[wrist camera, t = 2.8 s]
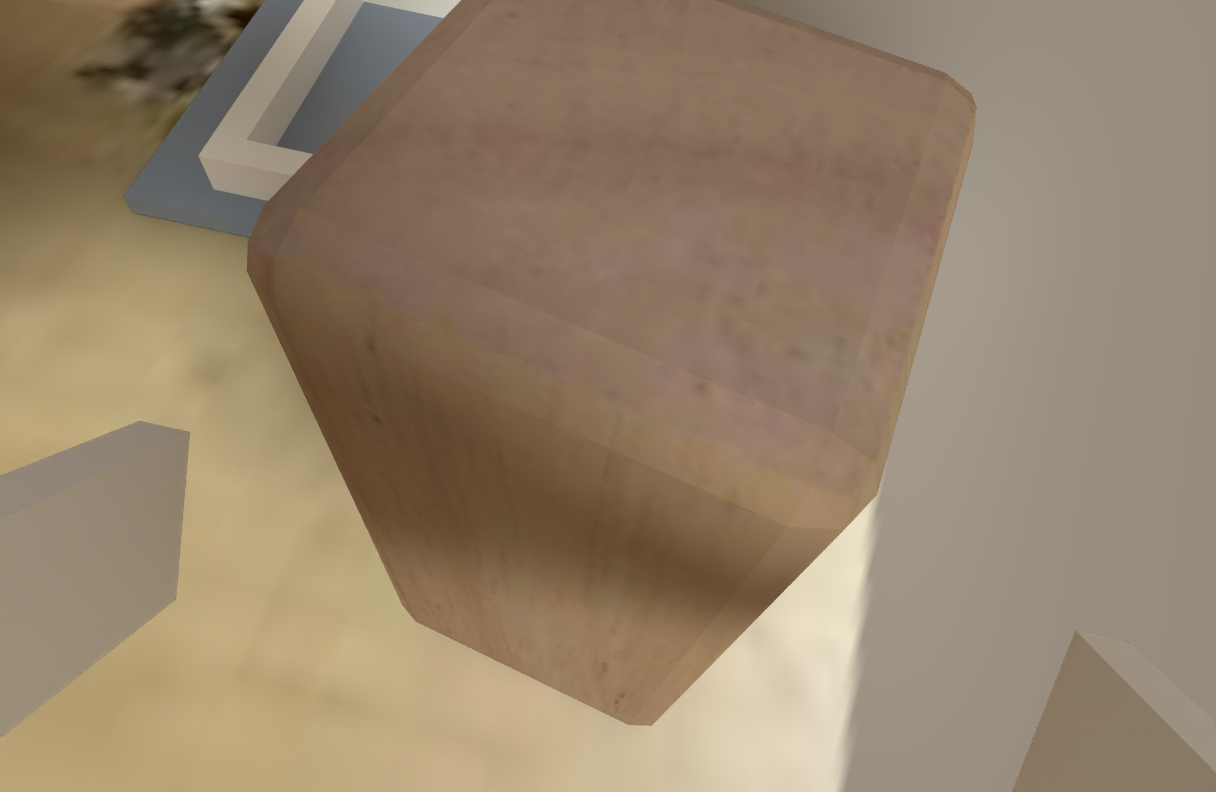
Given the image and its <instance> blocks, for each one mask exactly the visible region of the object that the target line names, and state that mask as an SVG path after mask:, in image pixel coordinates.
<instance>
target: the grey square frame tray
mask: <svg viewBox="0 0 1216 792" xmlns="http://www.w3.org/2000/svg"><path fill="white" fill-rule="evenodd" d="M460 1H461V0H265V1H264V3H263V4H262V5H261V7H260V8H259V10H258V11H257V12H256V14H255V15H254V16H253V18H252V19H251V21H250V22H249V23H248V25H247V26H246V28H245V29H244V30H243V32H242V33H241V34H240V36H239V37H238V39H237V40H236V41H235V43H234V44H233V45H232V47H231V48H230V50H229V51H228V52H227V54H226V55H225V57H224V58H223V59H222V61H221V62H220V63H219V65H218V66H217V68H216V69H215V70H214V72H213V73H212V74H211V76H210V77H209V79H208V80H207V81H206V83H205V84H204V86H203V87H202V88H201V90H200V91H199V92H198V94H197V95H196V97H195V98H194V99H193V101H192V102H191V103H190V105H189V106H188V108H187V109H186V110H185V112H184V113H183V115H182V116H181V117H180V119H179V120H178V121H177V123H176V124H175V126H174V127H173V128H172V130H171V131H170V132H169V134H168V135H167V137H166V138H165V139H164V141H163V142H162V144H161V145H160V146H159V148H158V149H157V150H156V152H155V153H154V155H153V156H152V157H151V159H150V160H149V162H148V163H147V164H146V166H145V167H144V168H143V170H142V171H141V173H140V174H139V175H138V177H137V178H136V179H135V181H134V182H133V184H132V185H131V186H130V188H129V189H128V191H127V192H126V193H125V195H124V196H123V197H124V199H125V201H126V202H127V204H128V206H129V207H130V209H131V211H132V212H133V213H138V214H142V215H147V216H152V217H156V218H161V219H166V220H170V221H175V222H180V223H184V224H189V225H194V226H198V227H203V228H208V229H212V230H217V231H222V232H226V233H231V234H236V235H240V236H245V237H250V236H251V234H252V232H253V229H254V227H255V224H256V222H257V219H258V217H259V215H260V212H261V210H262V207H263V206H264V205H265V204H266V203H267V202H268V201H269V200H270V199H271V197H272V196H273V195H274V194H275V193H276V192H277V191H278V190H279V189H280V188H281V187H282V186H283V185H284V184H285V183H286V182H287V181H288V180H289V179H290V178H291V177H292V176H293V175H294V174H295V172H296V171H297V170H298V169H299V168H300V167H301V166H302V165H303V164H304V163H305V162H306V161H307V160H308V159H309V158H310V157H311V156H312V155H313V154H314V153H315V152H316V151H317V150H318V149H319V147H320V146H321V145H322V144H323V143H324V142H325V141H326V140H327V139H328V138H329V137H330V136H331V135H332V134H333V133H334V132H335V131H336V130H337V129H338V128H339V127H340V126H341V125H342V124H343V122H344V121H345V120H346V119H347V118H348V117H349V116H350V115H351V114H352V113H353V112H354V111H355V110H356V109H357V108H358V107H359V106H360V105H361V104H362V103H363V102H364V101H365V100H366V99H367V97H368V96H369V95H370V94H371V93H372V92H373V91H374V90H375V89H376V88H377V87H378V86H379V85H380V84H381V83H382V82H383V81H384V80H385V79H386V78H387V77H388V76H389V75H390V74H391V72H392V71H393V70H394V69H395V68H396V67H397V66H398V65H399V64H400V63H401V62H402V61H403V60H404V59H405V58H406V57H407V56H408V55H409V54H410V53H411V52H412V51H413V50H414V49H415V47H416V46H417V45H418V44H419V43H420V42H421V41H422V40H423V39H424V38H425V37H426V36H427V35H428V34H429V33H430V32H431V31H432V30H433V29H434V28H435V27H436V26H437V25H438V24H439V22H440V21H441V20H442V19H443V18H444V17H445V16H446V15H447V14H448V13H449V12H450V11H451V10H452V9H453V8H454V7H455V6H456V5H457V4H458V3H459V2H460Z"/></svg>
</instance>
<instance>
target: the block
mask: <svg viewBox="0 0 1216 792" xmlns="http://www.w3.org/2000/svg"><path fill="white" fill-rule="evenodd" d="M975 118H976V105H975V102H974V99H973V97H972V94H971V93H970V92H969V91H968V90H966V89H965V88H964V87H963V86H961V85H960V84H959V83H958V82H956V81H955V80H954V79H953V78H951V77H950V76H949V75H948V74H947V73H944V72H941V71H938V70H935V69H932V68H930V67H927V66H924V65H921V64H918V63H915V62H912V61H910V60H907V59H904V58H901V57H898V56H895V55H892V54H890V53H887V52H884V51H880V50H878V49H875V48H872V47H869V46H867V45H864V44H861V43H858V42H855V41H852V40H849V39H846V38H844V37H841V36H838V35H835V34H832V33H829V32H826V31H823V30H821V29H818V28H815V27H812V26H809V25H806V24H803V23H801V22H798V21H795V20H792V19H789V18H786V17H783V16H780V15H778V14H774V13H772V12H769V11H766V10H763V9H760V8H757V7H755V6H752V5H749V4H746V3H743V2H740V1H737V0H461V1H460V2H459V3H458V4H457V5H456V6H455V7H454V8H453V9H452V10H451V11H450V12H449V13H448V14H447V15H446V16H445V17H444V18H443V19H442V20H441V21H440V22H439V24H438V25H437V26H436V27H435V28H434V29H433V30H432V31H431V32H430V33H429V34H428V35H427V36H426V37H425V38H424V39H423V40H422V41H421V42H420V43H419V44H418V45H417V46H416V47H415V49H414V50H413V51H412V52H411V53H410V54H409V55H408V56H407V57H406V58H405V59H404V60H403V61H402V62H401V63H400V64H399V65H398V66H397V67H396V68H395V69H394V70H393V71H392V72H391V74H390V75H389V76H388V77H387V78H386V79H385V80H384V81H383V82H382V83H381V84H380V85H379V86H378V87H377V88H376V89H375V90H374V91H373V92H372V93H371V94H370V95H369V96H368V97H367V99H366V100H365V101H364V102H363V103H362V104H361V105H360V106H359V107H358V108H357V109H356V110H355V111H354V112H353V113H352V114H351V115H350V116H349V117H348V118H347V119H346V120H345V121H344V122H343V124H342V125H341V126H340V127H339V128H338V129H337V130H336V131H335V132H334V133H333V134H332V135H331V136H330V137H329V138H328V139H327V140H326V141H325V142H324V143H323V144H322V145H321V146H320V147H319V149H318V150H317V151H316V152H315V153H314V154H313V155H312V156H311V157H310V158H309V159H308V160H307V161H306V162H305V163H304V164H303V165H302V166H301V167H300V168H299V169H298V170H297V171H296V172H295V174H294V175H293V176H292V177H291V178H290V179H289V180H288V181H287V182H286V183H285V184H284V185H283V186H282V187H281V188H280V189H279V190H278V191H277V192H276V193H275V194H274V195H273V196H272V197H271V199H270V200H269V201H268V202H267V203H266V204H265V205H264V206H263V207H262V210H261V212H260V215H259V217H258V219H257V222H256V224H255V227H254V229H253V232H252V234H251V236H250V239H249V241H248V257H247V272H248V274H249V277H250V279H251V281H252V283H253V285H254V287H255V289H256V292H257V294H258V296H259V298H260V300H261V302H262V304H263V307H264V309H265V311H266V313H267V315H268V317H269V319H270V322H271V324H272V326H273V328H274V330H275V332H276V335H277V337H278V339H279V341H280V343H281V345H282V347H283V350H284V352H285V354H286V356H287V358H288V360H289V362H290V365H291V367H292V369H293V371H294V373H295V375H296V377H297V380H298V382H299V384H300V386H301V388H302V390H303V392H304V395H305V397H306V399H307V401H308V403H309V405H310V407H311V410H312V412H313V414H314V416H315V418H316V420H317V423H318V425H319V427H320V429H321V431H322V433H323V435H324V438H325V440H326V442H327V444H328V446H329V448H330V450H331V453H332V455H333V457H334V459H335V461H336V463H337V465H338V468H339V470H340V472H341V474H342V476H343V478H344V480H345V483H346V485H347V487H348V489H349V491H350V493H351V495H352V498H353V500H354V502H355V504H356V506H357V508H358V511H359V513H360V515H361V517H362V519H363V521H364V523H365V526H366V528H367V530H368V532H369V534H370V536H371V538H372V541H373V543H374V545H375V547H376V549H377V551H378V553H379V556H380V558H381V560H382V562H383V564H384V566H385V568H386V571H387V573H388V575H389V577H390V579H391V581H392V584H393V586H394V588H395V590H396V592H397V594H398V596H399V599H400V601H401V603H402V605H403V606H404V607H405V609H406V610H407V611H408V612H409V613H410V615H411V616H412V617H413V618H414V620H415V621H416V622H418V623H420V624H422V625H424V626H427V627H429V628H431V629H433V630H435V631H437V632H439V633H441V634H443V635H445V636H447V637H449V638H451V639H453V640H455V641H457V642H459V643H461V644H464V645H466V646H468V647H470V648H472V649H474V650H476V651H478V652H480V653H482V654H484V655H486V656H488V657H490V658H492V659H494V660H496V661H498V662H501V663H503V664H505V665H507V666H509V667H511V668H513V669H515V670H517V671H519V672H521V673H523V674H525V675H527V676H529V677H531V678H533V679H536V680H538V681H540V682H542V683H544V684H546V685H548V686H550V687H552V688H554V689H556V690H558V691H560V692H562V693H564V694H566V695H568V696H570V697H573V698H575V699H577V700H579V701H581V702H583V703H585V704H587V705H589V706H591V707H593V708H595V709H597V710H599V711H601V712H603V713H605V714H607V715H610V716H612V717H614V718H616V719H618V720H620V721H622V722H624V723H626V724H628V725H648V726H652V725H653V724H654V723H655V722H656V721H657V720H658V719H659V718H660V717H661V715H662V714H663V713H664V712H665V711H666V710H667V709H668V708H669V707H670V706H671V705H672V704H673V703H674V702H675V701H676V700H677V699H678V698H679V697H680V696H681V695H682V694H683V693H684V692H685V691H686V690H687V689H688V688H689V687H690V686H691V685H692V684H693V683H694V682H695V681H696V680H697V679H698V678H699V677H700V676H701V675H702V674H703V673H704V672H705V671H706V670H707V669H708V668H709V667H710V666H711V665H712V664H713V663H714V662H715V661H716V660H717V658H718V657H719V656H720V655H721V654H722V653H723V652H724V651H725V650H726V649H727V648H728V647H729V646H730V645H731V644H732V643H733V642H734V641H735V640H736V639H737V638H738V637H739V636H740V635H741V634H742V633H743V632H744V631H745V630H746V629H747V628H748V627H749V626H750V625H751V624H752V623H753V622H754V621H755V620H756V619H757V618H758V617H759V616H760V615H761V614H762V613H763V612H764V611H765V610H766V609H767V608H768V607H769V606H770V605H771V604H772V603H773V601H774V600H775V599H776V598H777V597H778V596H779V595H780V594H781V593H782V592H783V591H784V590H785V589H786V588H787V587H788V586H789V585H790V584H791V583H792V582H793V581H794V580H795V579H796V578H797V577H798V576H799V575H800V574H801V573H802V572H803V571H804V570H805V569H806V568H807V567H808V566H809V565H810V564H811V563H812V562H813V561H814V560H815V559H816V558H817V557H818V556H819V555H820V554H821V553H822V552H823V551H824V550H825V549H826V548H827V547H828V546H829V544H830V543H831V542H832V541H833V540H834V539H835V538H836V537H837V536H838V535H839V534H840V533H841V532H842V531H843V530H844V529H845V528H846V527H847V526H848V525H849V524H850V523H851V522H852V521H853V520H854V519H855V518H856V516H857V515H858V514H859V513H860V512H861V511H862V510H863V509H864V508H865V507H866V506H867V505H868V504H869V503H870V502H871V501H872V499H873V498H874V497H875V496H876V495H877V492H878V488H879V485H880V481H881V477H882V474H883V470H884V466H885V463H886V459H887V455H888V452H889V448H890V444H891V441H892V437H893V433H894V430H895V426H896V423H897V419H898V415H899V411H900V408H901V404H902V401H903V397H904V393H905V390H906V386H907V382H908V379H909V375H910V372H911V368H912V364H913V361H914V357H915V353H916V350H917V346H918V342H919V339H920V335H921V331H922V328H923V324H924V320H925V317H926V313H927V310H928V306H929V302H930V299H931V295H932V291H933V288H934V284H935V280H936V277H937V273H938V270H939V266H940V262H941V258H942V255H943V251H944V248H945V244H946V240H947V237H948V233H949V229H950V226H951V222H952V219H953V215H954V211H955V208H956V204H957V200H958V197H959V193H960V189H961V186H962V182H963V178H964V174H965V171H966V167H967V164H968V160H969V157H970V153H971V149H972V146H973V138H974V128H975Z"/></svg>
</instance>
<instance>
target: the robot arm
mask: <svg viewBox="0 0 1216 792" xmlns="http://www.w3.org/2000/svg"><path fill="white" fill-rule="evenodd" d="M189 437H190V432H187V431H183V430H178V429H174V428H169V427H165V426H160V425H156V424H151V423H147V422H142V421H138V422H135V423H133V424H130V425H128V426H125V427H123V428H120V429H118V430H115V431H113V432H110V433H107V434H105V435H102V436H100V437H97V438H95V439H92V440H90V441H87V442H85V443H82V444H80V445H77V446H75V447H72V448H70V449H67V450H64V451H62V452H59V453H57V454H54V455H52V456H49V457H47V458H44V459H42V460H39V461H37V462H34V463H32V464H29V465H27V466H24V467H21V468H19V469H16V470H14V471H11V472H9V473H6V474H4V475H1V476H0V738H1V737H3V736H4V735H5V734H6V733H8V732H9V731H10V730H11V729H13V728H14V727H15V726H16V725H18V724H19V723H20V722H21V721H23V720H24V719H25V718H27V717H28V716H29V715H30V714H32V713H33V712H34V711H35V710H37V709H38V708H39V707H40V706H42V705H43V704H44V703H46V702H47V701H48V700H49V699H51V698H52V697H53V696H54V695H56V694H57V693H58V692H59V691H61V690H62V689H63V688H65V687H66V686H67V685H68V684H70V683H71V682H72V681H73V680H75V679H76V678H77V677H78V676H80V675H81V674H82V673H83V672H85V671H86V670H87V669H89V668H90V667H91V666H92V665H94V664H95V663H96V662H97V661H99V660H100V659H101V658H102V657H104V656H105V655H106V654H108V653H109V652H110V651H111V650H113V649H114V648H115V647H116V646H118V645H119V644H120V643H121V642H123V641H124V640H125V639H126V638H128V637H129V636H130V635H132V634H133V633H134V632H135V631H137V630H138V629H139V628H140V627H142V626H143V625H144V624H145V623H147V622H148V621H149V620H151V619H152V618H153V617H154V616H156V615H157V614H158V613H159V612H161V611H162V610H163V609H164V608H166V607H167V606H168V605H169V604H171V603H172V602H173V601H175V600H176V594H177V582H178V570H179V557H180V545H181V533H182V521H183V509H184V497H185V485H186V473H187V461H188V449H189ZM1013 792H1216V723H1215V722H1214V721H1213V720H1212V719H1211V718H1210V717H1209V716H1208V715H1207V714H1206V713H1204V711H1202V710H1201V709H1200V708H1199V707H1198V706H1197V705H1196V704H1195V703H1194V702H1193V701H1192V700H1191V699H1189V698H1188V697H1187V696H1186V695H1185V694H1184V693H1183V692H1182V691H1181V690H1180V689H1179V688H1178V687H1176V686H1175V685H1174V684H1173V683H1172V682H1171V681H1170V680H1169V679H1168V678H1167V677H1166V676H1165V675H1163V674H1162V673H1161V672H1160V671H1159V670H1158V669H1157V668H1156V667H1155V666H1154V665H1153V664H1151V663H1150V662H1149V661H1148V660H1147V659H1146V658H1145V657H1144V656H1143V655H1142V654H1141V653H1140V652H1138V651H1137V650H1136V649H1135V648H1134V647H1133V646H1132V645H1131V644H1130V643H1129V642H1125V641H1121V640H1117V639H1112V638H1108V637H1103V636H1098V635H1094V634H1090V633H1085V632H1080V631H1076V630H1075V633H1074V636H1073V638H1072V641H1071V643H1070V645H1069V648H1068V650H1067V654H1066V656H1065V658H1064V661H1063V663H1062V666H1061V668H1060V671H1059V673H1058V676H1057V678H1056V681H1055V683H1054V686H1053V689H1052V691H1051V694H1050V696H1049V699H1048V701H1047V704H1046V706H1045V709H1044V711H1043V714H1042V717H1041V719H1040V722H1039V724H1038V727H1037V729H1036V732H1035V735H1034V737H1033V739H1032V742H1031V744H1030V747H1029V750H1028V752H1027V755H1026V757H1025V760H1024V762H1023V765H1022V767H1021V770H1020V772H1019V775H1018V777H1017V780H1016V782H1015V785H1014V788H1013Z"/></svg>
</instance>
